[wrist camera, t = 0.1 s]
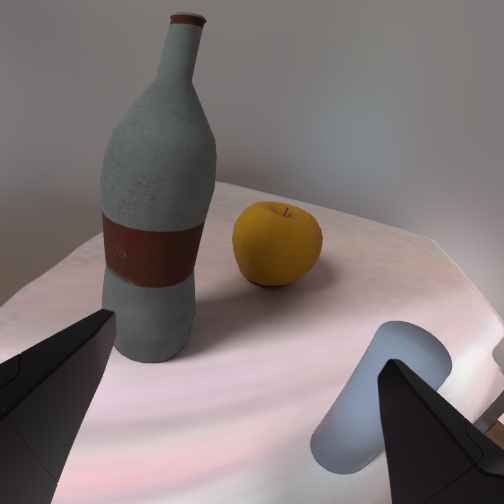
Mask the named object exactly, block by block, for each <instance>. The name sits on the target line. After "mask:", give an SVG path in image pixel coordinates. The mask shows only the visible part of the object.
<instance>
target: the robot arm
mask: <svg viewBox="0 0 504 504" xmlns="http://www.w3.org/2000/svg"><path fill="white" fill-rule="evenodd" d="M116 334H117V328H116V315H115V312H114V311H111V310H107V309H101V310H99V311H97V312H95V313H93V314H91V315H89V316H88V317H86V318H84V319H82V320H80V321H78V322H76V323H75V324H73V325H71V326H69V327H67V328H65V329H63V330H62V331H60V332H58V333H56V334H54V335H52V336H51V337H49V338H47V339H45V340H43V341H41V342H40V343H38V344H36V345H34V346H32V347H30V348H29V349H27V350H25V351H23V352H21V355H20V354H18V355H16V356H14V357H12V358H10V359H8V360H7V361H5V362H3V363H1V364H0V504H51V501H52V499H53V496H54V493H55V490H56V487H57V483H58V481H59V479H60V476H61V473H62V471H63V468H64V465H65V463H66V460H67V458H68V455H69V453H70V450H71V448H72V445H73V443H74V440H75V438H76V435H77V433H78V431H79V428H80V426H81V424H82V421H83V419H84V417H85V414H86V412H87V410H88V408H89V405H90V403H91V401H92V399H93V397H94V394H95V392H96V390H97V388H98V386H99V384H100V381H101V379H102V377H103V374H104V371H105V368H106V365H107V362H108V359H109V356H110V353H111V350H112V347H113V345H114V342H115V339H116ZM377 385H378V396H379V409H380V419H381V426H382V432H383V438H384V444H385V450H386V457H387V464H388V472H389V479H390V488H391V497H392V504H504V449H502V448H501V447H500V446H499V445H497V444H496V443H495V442H493V441H492V440H491V439H490V438H488V437H487V436H486V435H485V434H483V433H482V432H481V431H480V430H479V429H477V428H476V427H475V426H474V425H473V424H472V423H471V422H470V421H468V420H467V419H466V418H464V416H463V415H462V414H461V413H460V412H458V411H457V410H456V409H455V408H454V407H453V406H452V405H451V404H450V403H449V402H447V401H446V400H445V399H444V398H443V397H442V396H441V395H440V394H438V393H437V392H436V391H435V390H434V389H433V388H432V387H431V386H430V385H428V384H427V383H426V382H425V381H424V380H423V379H422V378H421V377H419V376H418V375H417V374H416V373H415V372H414V371H413V370H412V369H410V368H409V367H408V366H407V365H406V364H405V363H404V362H403V361H401V360H400V359H389V360H388V361H387V362H386V364H385V365H384V367H383V368H382V370H381V372H380V373H379V375H378V378H377Z"/></svg>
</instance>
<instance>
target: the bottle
mask: <svg viewBox="0 0 504 504" xmlns="http://www.w3.org/2000/svg"><path fill="white" fill-rule="evenodd" d="M170 19H171V22H170V26H169V29H168V33H167V37H166V40H165V44H164V48H163V52H162V56H161V60H160V64H159V68H158V72H157V77H156V78H155V79H154V81H153V82H152V83H151V84H150V85H149V86H148V87H147V89H146V90H145V91H144V92H143V93H142V94H141V96H140V97H139V98H138V99H137V100H136V101H135V103H134V104H133V105H132V106H131V108H130V109H129V110H128V111H127V112H126V114H125V115H124V116H123V118H122V119H121V120H120V121H119V123H118V124H117V125H116V127H115V128H114V129H113V131H112V134H111V136H110V139H109V142H108V144H107V147H106V151H105V156H104V161H103V166H102V171H101V177H100V187H101V202H102V217H103V234H104V247H105V259H106V268H105V275H104V283H103V294H102V309H107V310H111V311H114V312H115V315H116V328H117V334H116V339H115V342H114V347H115V348H116V349H117V350H118V351H119V352H120V353H121V354H122V355H124V356H125V357H127V358H129V359H131V360H134V361H138V362H142V363H158V362H163V361H167V360H169V359H171V358H172V357H174V356H176V355H177V354H178V353H179V352H180V351H181V349H182V348H183V347H184V345H185V343H186V341H187V339H188V336H189V332H190V329H191V325H192V321H193V318H194V314H195V281H194V266H195V262H196V257H197V253H198V249H199V244H200V240H201V236H202V232H203V227H204V223H205V219H206V215H207V212H208V209H209V205H210V202H211V199H212V195H213V192H214V189H215V173H216V159H217V157H216V144H215V139H214V136H213V133H212V131H211V129H210V126H209V124H208V121H207V119H206V116H205V114H204V111H203V109H202V106H201V104H200V101H199V99H198V96H197V94H196V91H195V89H194V86H193V84H192V76H193V71H194V66H195V62H196V57H197V52H198V47H199V43H200V39H201V34H202V30H203V26H204V24H205V23H206V19H205V18H204V17H203V16H201V15H198V14H194V13H186V12H178V13H174V14H172V15H171V16H170Z"/></svg>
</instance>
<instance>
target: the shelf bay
mask: <svg viewBox="0 0 504 504" xmlns="http://www.w3.org/2000/svg"><path fill="white" fill-rule="evenodd" d="M503 413H504V391H503V392H502V393H501V394H500V395H499V396H498V398H497V399H496V400H495V401H494V402H493V403H492V405H491V406H490V407H489V408H488V409H487V410H486V411H485V412H484V413H483V414H482V416H481V417H480V418H479V419H478V420H477V421H476V422H475V423H474V424H473V425H474V426H475V427H476V428H477V429H479V430H480V431H481V432H482V433H483V434H485V435H486V436H487V437H488V438H490V439H491V440H492V441H493V442H495V443H496V444H497V445H499V446H500V447H501V448H502V449H504V425H503V424H502V423H501V422H500V421H498V420H497V419H498V418H499V417H500V416H501V415H502V414H503Z"/></svg>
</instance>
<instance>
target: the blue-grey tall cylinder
mask: <svg viewBox="0 0 504 504" xmlns="http://www.w3.org/2000/svg"><path fill="white" fill-rule="evenodd" d="M389 359H400V360H401V361H403V362H404V363H405V364H406V365H407V366H408V367H409V368H410V369H412V370H413V371H414V372H415V373H416V374H417V375H418V376H419V377H421V378H422V379H423V380H424V381H425V382H426V383H427V384H428V385H430V386H431V387H432V388H433V389H434V390H435V391H437V390H438V389H439V388H440V386H441V385H442V384H443V383H444V381H445V380H446V379H447V377H448V376H449V375H450V373H451V370H452V361H451V357H450V355H449V353H448V351H447V349H446V348H445V347H444V345H443V344H442V343H441V342H440V341H439V340H438V339H437V338H436V337H435V336H433V335H432V334H431V333H429V332H428V331H426V330H424V329H423V328H421V327H419V326H416V325H414V324H411V323H408V322H403V321H389V322H386V323H384V324H382V325H381V326H380V327H379V328H378V330H377V332H376V334H375V336H374V337H373V339H372V341H371V343H370V345H369V346H368V348H367V350H366V352H365V353H364V355H363V357H362V359H361V360H360V362H359V364H358V365H357V367H356V369H355V370H354V372H353V374H352V375H351V377H350V379H349V380H348V382H347V383H346V385H345V387H344V388H343V390H342V391H341V393H340V394H339V396H338V398H337V399H336V401H335V402H334V404H333V405H332V407H331V408H330V410H329V411H328V413H327V414H326V415H325V417H324V418H323V420H322V421H321V423H320V424H319V425H318V427H317V428H316V430H315V431H314V433H313V434H312V437H311V441H310V447H311V451H312V454H313V456H314V458H315V459H316V461H317V462H318V463H319V464H320V465H321V466H322V467H323V468H325V469H326V470H328V471H330V472H333V473H337V474H352V473H355V472H358V471H360V470H361V469H362V468H364V467H365V466H366V465H367V464H368V463H369V462H370V461H372V460H373V459H374V458H375V457H376V456H377V455H378V454H379V453H380V452H381V451H382V450H383V449H384V448H385V444H384V438H383V432H382V426H381V419H380V409H379V396H378V385H377V378H378V375H379V373H380V372H381V370H382V368H383V367H384V365H385V364H386V362H387V361H388V360H389Z"/></svg>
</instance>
